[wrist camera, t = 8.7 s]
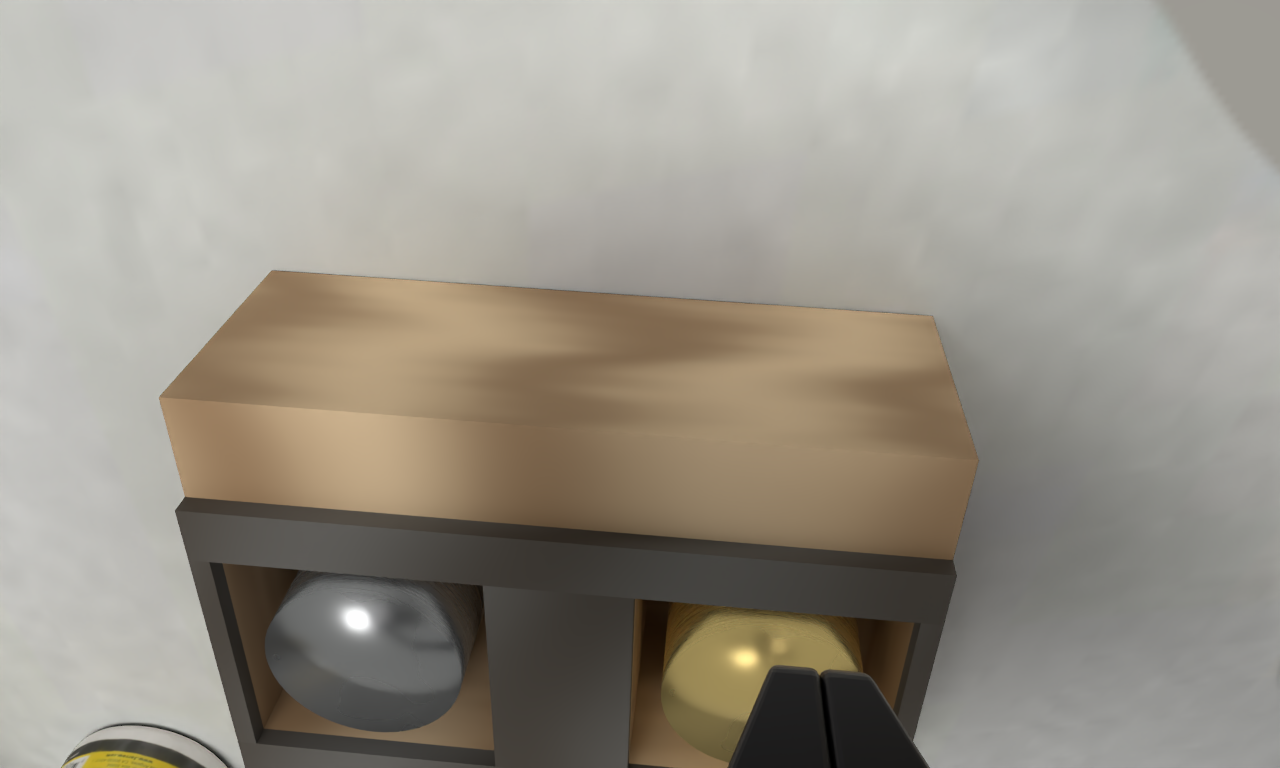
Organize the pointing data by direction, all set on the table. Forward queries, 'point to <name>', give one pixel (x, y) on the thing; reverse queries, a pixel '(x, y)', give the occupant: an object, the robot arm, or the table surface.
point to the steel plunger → (374, 647)
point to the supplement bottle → (140, 750)
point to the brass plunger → (740, 664)
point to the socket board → (563, 496)
